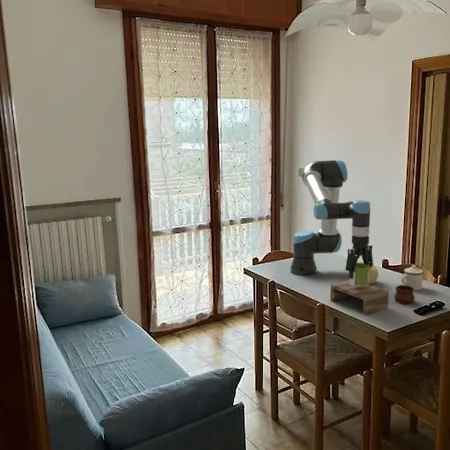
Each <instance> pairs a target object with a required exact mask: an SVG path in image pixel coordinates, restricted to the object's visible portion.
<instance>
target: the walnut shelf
mask: <svg viewBox="0 0 450 450" xmlns="http://www.w3.org/2000/svg"><path fill="white" fill-rule="evenodd" d="M389 293H390V292H389V291H388V290H386V289H384V288H381V287H377V286H374V285H372V284H365V285H362V286H361V285H355V286H352V285H350V284H349V279H346V280H342V281H339V282H335V283H332V284H330V298H329V299H330V302H337V301H340V300H341V301H342V300H344V299H347V298H351V297H355V298H358V299H361V300H363V304H362V305H363V307H362V314H363V315H366V316H368V315H371V314H374V313H377V312H380V311H383V310H386V309H388V308H389Z"/></svg>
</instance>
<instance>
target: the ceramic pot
mask: <svg viewBox="0 0 450 450" xmlns="http://www.w3.org/2000/svg"><path fill="white" fill-rule="evenodd" d="M414 291H415V290H414V288H413V287H410V286H404V284H400V285H397V286H396V287H395V294H394V300H395V302H396V303H399V304H400V305H401V304H402V305H410V304H414V302H415V295H414Z"/></svg>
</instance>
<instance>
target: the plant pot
mask: <svg viewBox="0 0 450 450" xmlns="http://www.w3.org/2000/svg"><path fill="white" fill-rule="evenodd" d="M369 268H370V265H365V264H364V263H362V262H357V264H356V267H355V270H354V272H355V285H361V286H362V285H365V284H366V279H367V274H368V270H369Z"/></svg>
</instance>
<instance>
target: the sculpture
mask: <svg viewBox="0 0 450 450" xmlns="http://www.w3.org/2000/svg"><path fill="white" fill-rule="evenodd" d="M379 274H380V273H379V269H378V268H377V266H376V265H374V264H373V266H372V268H370V269H369V282H366V284H368V285H373V284H374V283H376V282H377V281H378V278H379Z"/></svg>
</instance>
